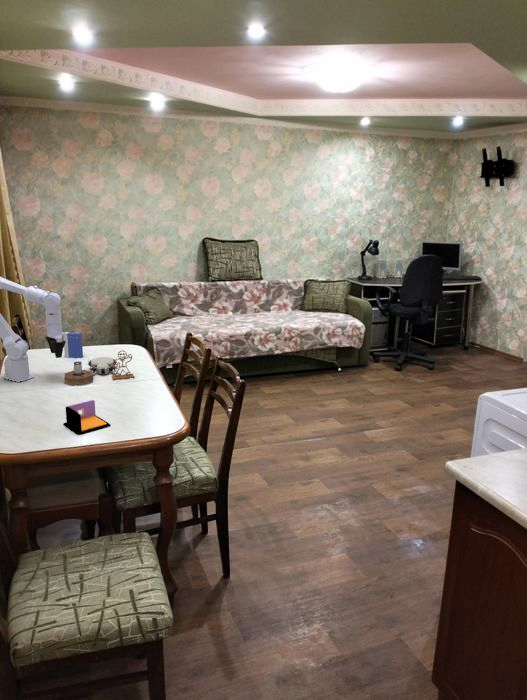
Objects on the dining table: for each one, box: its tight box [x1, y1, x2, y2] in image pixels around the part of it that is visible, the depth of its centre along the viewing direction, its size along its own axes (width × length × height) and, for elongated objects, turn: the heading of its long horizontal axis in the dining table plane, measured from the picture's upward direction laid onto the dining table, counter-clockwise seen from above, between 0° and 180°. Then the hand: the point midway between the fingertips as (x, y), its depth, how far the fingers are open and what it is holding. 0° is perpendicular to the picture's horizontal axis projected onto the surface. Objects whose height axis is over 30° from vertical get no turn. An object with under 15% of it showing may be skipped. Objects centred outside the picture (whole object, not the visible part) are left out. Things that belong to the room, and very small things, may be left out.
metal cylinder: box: [73, 361, 83, 376], centre depth 223 cm, size 3×3×8 cm
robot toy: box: [87, 356, 118, 375], centre depth 237 cm, size 12×4×15 cm
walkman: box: [62, 331, 84, 359], centre depth 255 cm, size 8×3×12 cm, turn 85°
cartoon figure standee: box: [111, 349, 135, 381], centre depth 228 cm, size 9×4×12 cm, turn 112°
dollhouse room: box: [62, 399, 112, 436], centre depth 181 cm, size 12×12×7 cm
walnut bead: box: [63, 369, 94, 387], centre depth 224 cm, size 11×11×3 cm
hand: (56, 355), depth 224 cm, fingers open, 7 cm apart
